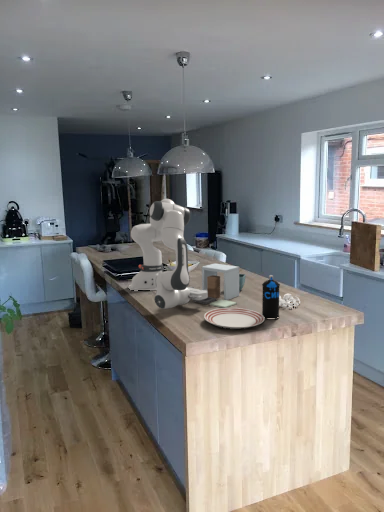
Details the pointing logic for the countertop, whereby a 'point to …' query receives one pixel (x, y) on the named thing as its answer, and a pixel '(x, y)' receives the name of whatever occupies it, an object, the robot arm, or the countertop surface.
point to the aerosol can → (270, 298)
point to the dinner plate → (234, 318)
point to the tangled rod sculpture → (286, 297)
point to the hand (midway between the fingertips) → (199, 289)
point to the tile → (223, 303)
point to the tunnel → (229, 278)
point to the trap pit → (205, 300)
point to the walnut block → (213, 286)
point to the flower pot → (241, 281)
